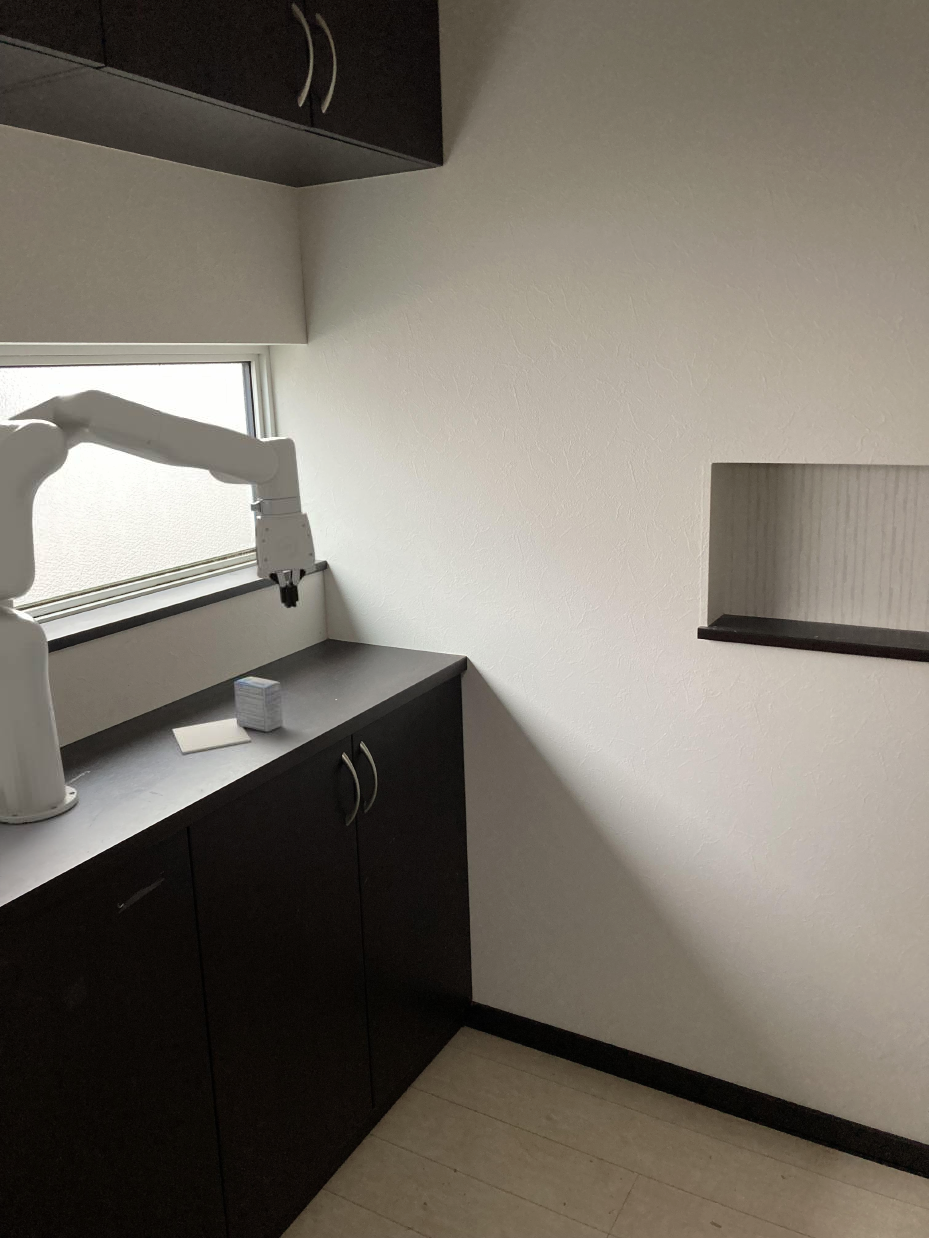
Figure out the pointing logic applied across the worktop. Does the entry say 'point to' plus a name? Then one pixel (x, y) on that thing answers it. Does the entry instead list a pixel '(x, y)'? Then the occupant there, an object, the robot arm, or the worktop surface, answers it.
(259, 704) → the medicine box
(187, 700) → the worktop surface
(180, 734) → the mat
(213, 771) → the worktop surface
